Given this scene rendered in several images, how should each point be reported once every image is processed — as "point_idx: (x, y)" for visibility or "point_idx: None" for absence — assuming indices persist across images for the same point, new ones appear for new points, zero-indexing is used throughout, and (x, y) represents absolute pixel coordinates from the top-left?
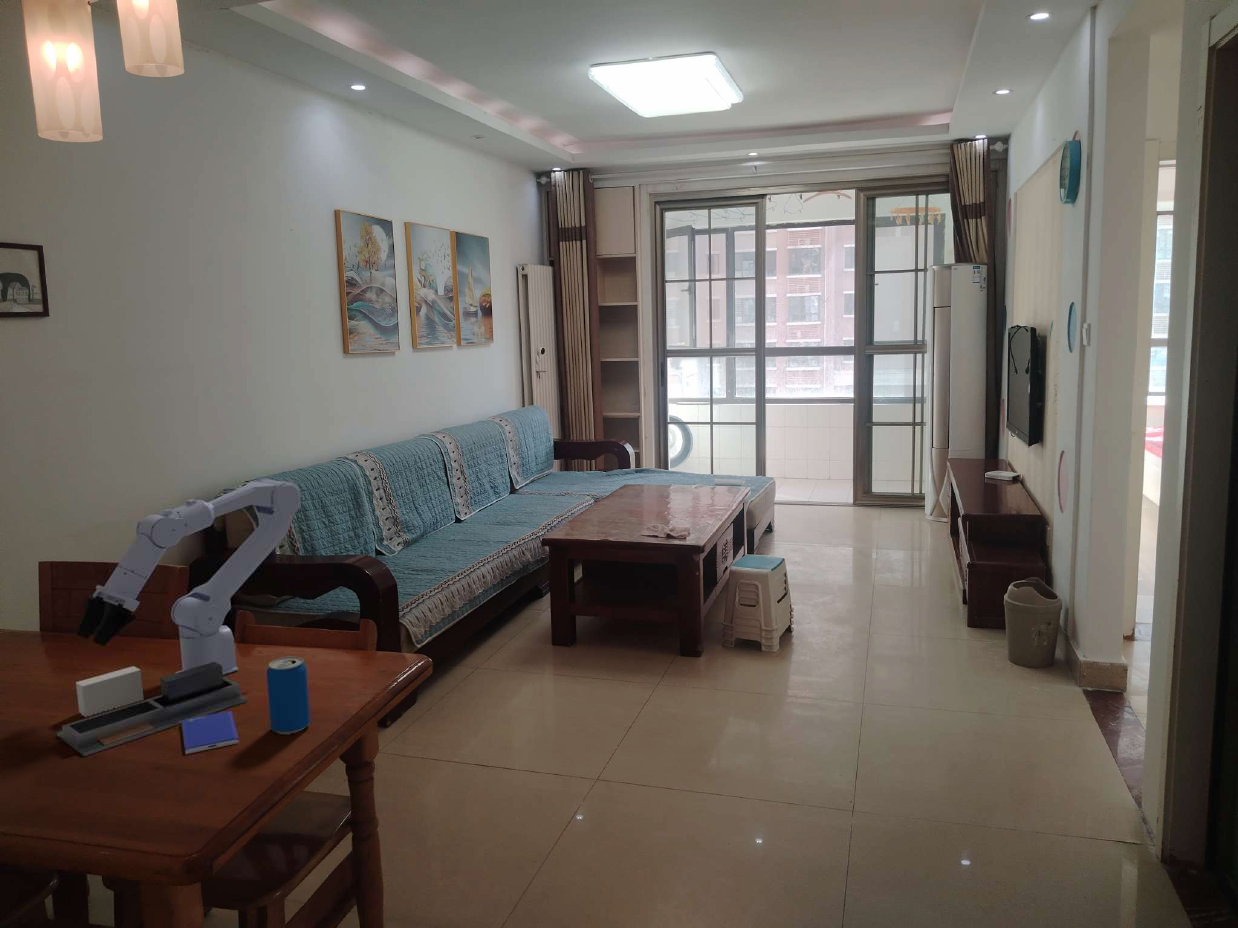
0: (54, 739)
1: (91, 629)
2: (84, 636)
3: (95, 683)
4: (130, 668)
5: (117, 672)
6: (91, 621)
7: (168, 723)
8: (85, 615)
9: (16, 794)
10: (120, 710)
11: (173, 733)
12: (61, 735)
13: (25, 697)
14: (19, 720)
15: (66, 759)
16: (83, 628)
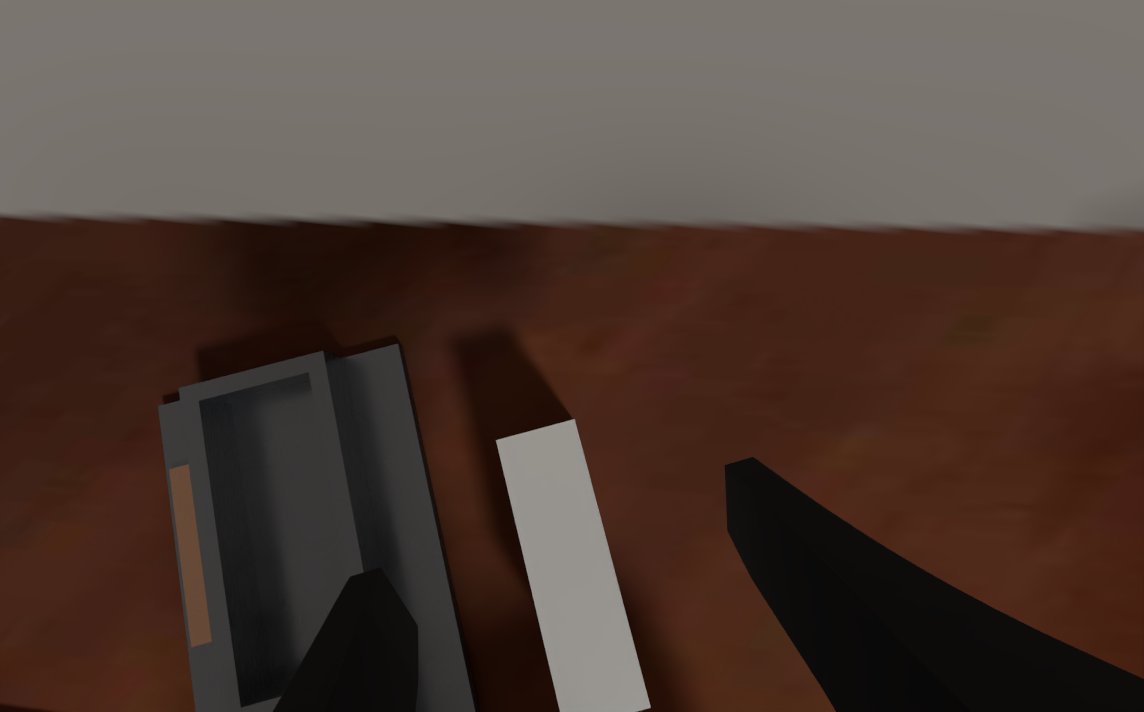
0: (378, 335)
1: (775, 596)
2: (732, 517)
3: (510, 498)
4: (621, 685)
5: (597, 614)
6: (833, 639)
7: (207, 703)
8: (865, 614)
9: (45, 228)
10: (343, 558)
11: (142, 700)
12: (362, 353)
13: (854, 269)
14: (627, 247)
15: (187, 357)
16: (762, 532)
